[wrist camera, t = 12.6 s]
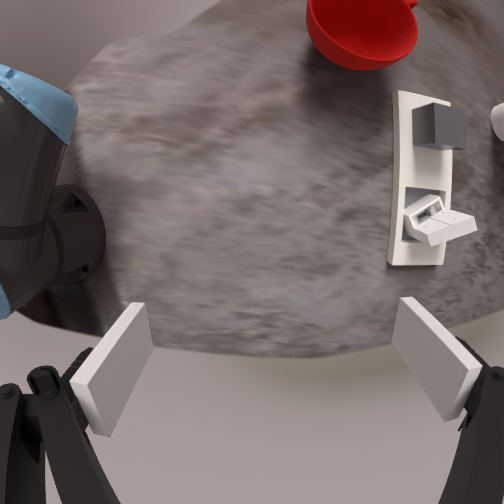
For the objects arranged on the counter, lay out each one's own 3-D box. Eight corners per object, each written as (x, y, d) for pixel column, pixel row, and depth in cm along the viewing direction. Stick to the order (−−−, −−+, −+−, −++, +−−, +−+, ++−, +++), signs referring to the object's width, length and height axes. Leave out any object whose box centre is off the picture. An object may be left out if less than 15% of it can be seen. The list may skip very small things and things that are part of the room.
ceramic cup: (420, 54, 32) (454, 33, 22) (337, 100, 35) (361, 80, 25) (367, -10, 29) (388, -43, 20) (279, 29, 32) (283, -8, 23)
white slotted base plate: (386, 260, 40) (410, 280, 33) (392, 93, 34) (418, 79, 26) (436, 260, 40) (464, 278, 32) (443, 104, 34) (473, 96, 26)
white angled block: (465, 205, 35) (477, 230, 28) (408, 226, 41) (407, 254, 35) (458, 182, 34) (469, 202, 28) (399, 205, 40) (397, 229, 34)
